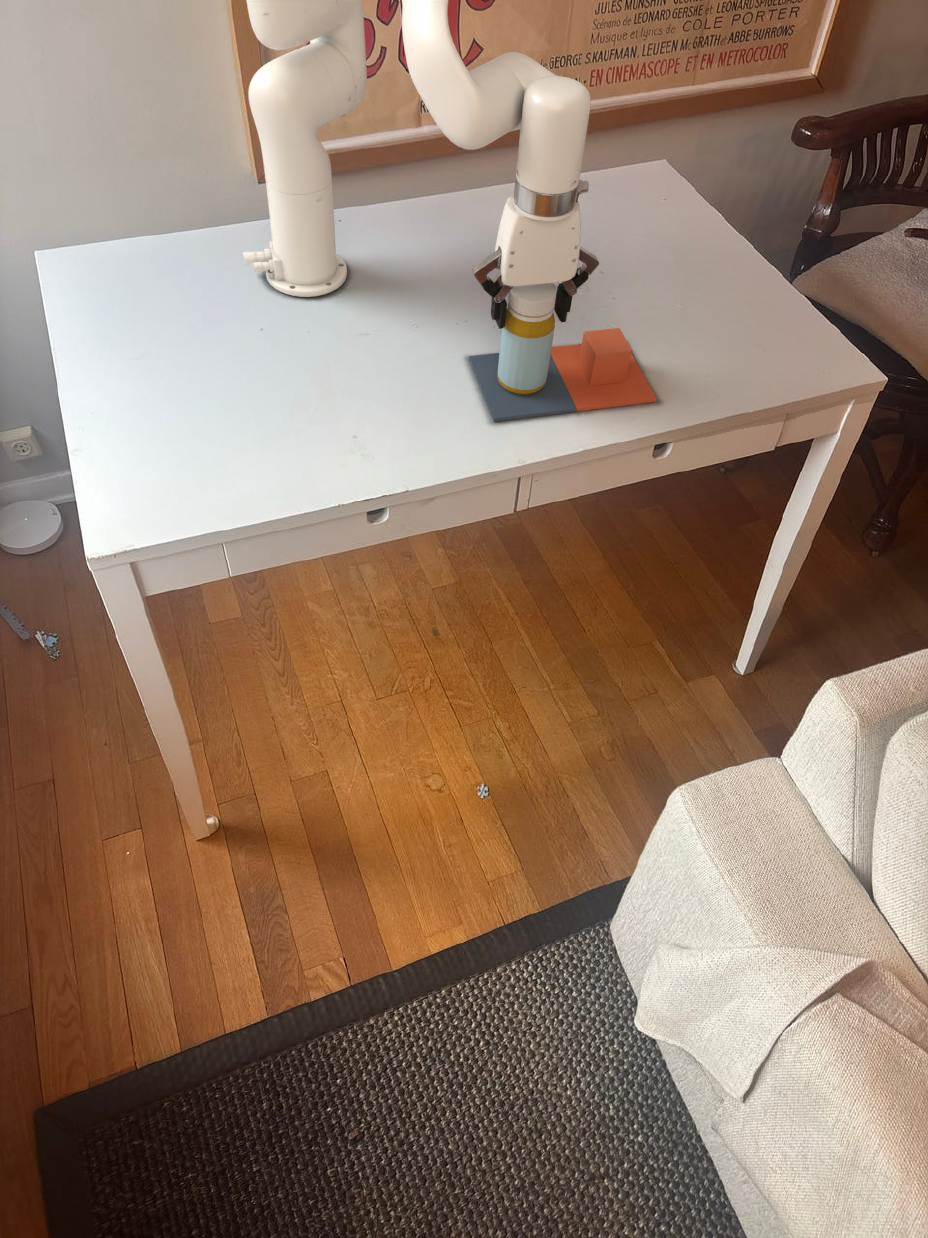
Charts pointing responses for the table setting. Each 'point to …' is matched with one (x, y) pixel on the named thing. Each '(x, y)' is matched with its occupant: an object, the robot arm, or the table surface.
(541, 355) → the bottle
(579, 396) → the sorting mat
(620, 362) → the block
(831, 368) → the table surface
